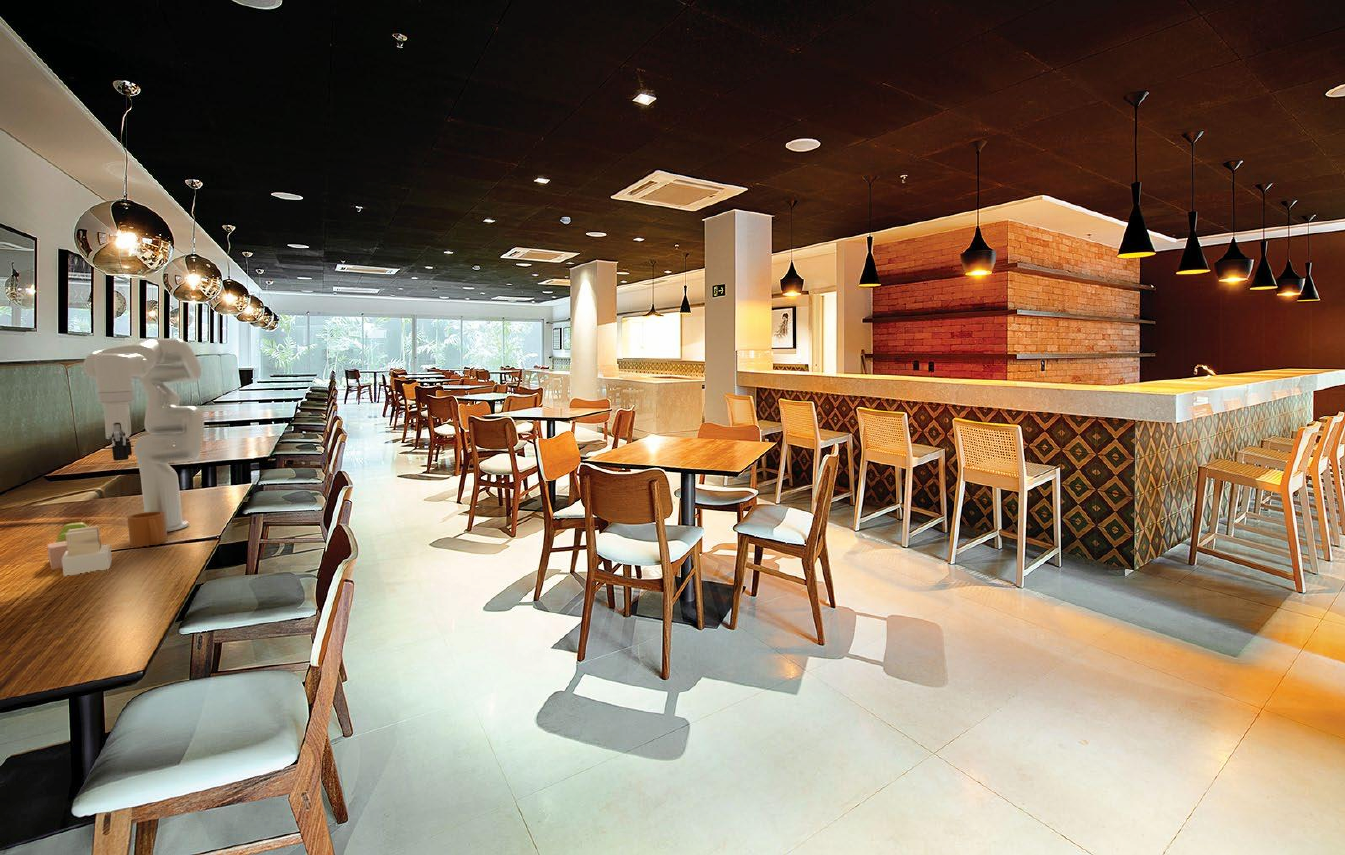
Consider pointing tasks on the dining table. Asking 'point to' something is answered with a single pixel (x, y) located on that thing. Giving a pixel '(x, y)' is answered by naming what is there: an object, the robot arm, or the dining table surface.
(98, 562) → the base block
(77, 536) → the maple cube
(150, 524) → the mug
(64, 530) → the dumbbell
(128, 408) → the robot arm
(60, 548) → the pink cube
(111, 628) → the dining table surface
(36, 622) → the dining table surface
